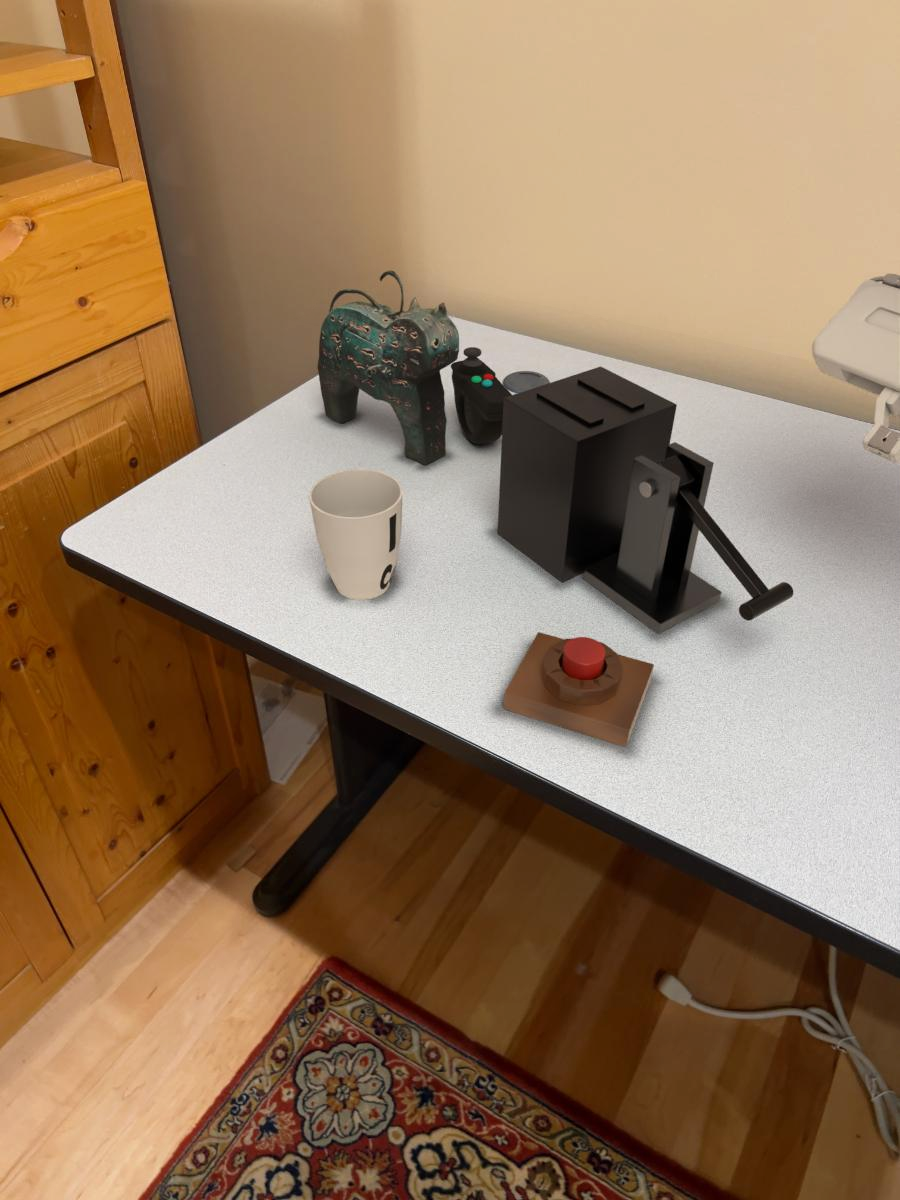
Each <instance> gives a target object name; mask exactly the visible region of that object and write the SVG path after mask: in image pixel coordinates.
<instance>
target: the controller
mask: <svg viewBox="0 0 900 1200" xmlns="http://www.w3.org/2000/svg"><path fill="white" fill-rule="evenodd" d="M463 355H464V356H465V357H466V358H465V359H463V360H458V361H454V362H453V363H451V364H450V368H451V370H452V372H451V381H452V387H453V397H454V405H455V411H456V415H457V418H458V420H457V421H458V423H459V426H460V428H461V431H462V433H463V435H464V436H465V438H466V439H467V440H468V441H470V442H471V443H473V444H476V445H484V444H488V443H493V442H496V441H498V440H499V439H500V438H502V426H503V405H504V398H505V397H508V396H511V395H513V394H512V393H511V392H510V390H509V389H507V387H506V386H504V384H503V383H502V382H501V380H499V379H498V378H497V376H496V374H497V373H496V372H495V371H494V370H493V369H491V367H490V366H489V365H488V364H486V363H485V362H484V361H482V360H481V359H480V358H478V357H480V356H482V349H480V348H479V347H475V346H470V347H466V348H464V349H463Z"/></svg>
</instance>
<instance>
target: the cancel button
mask: <svg viewBox="0 0 900 1200" xmlns="http://www.w3.org/2000/svg"><path fill="white" fill-rule="evenodd" d="M570 639H571V640H569V641H568V642H567V643H566V644H565V646H564V653H563V661H562V667H563V670H564V671H565V673H566V674H567V675H569V676H570V677H572V678H575V679H579V680H592V679H595V678H597V677H598V676H599V675H600V674H601V673H602V671H603V665H604V659H605V649H604V647H603V646H602V644H601V643H599V642H600V641H599V640H597V639H594V638H591V637H588V636H587V637H586V636H578V637H573V639H572V638H570Z"/></svg>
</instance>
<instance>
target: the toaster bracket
mask: <svg viewBox="0 0 900 1200" xmlns="http://www.w3.org/2000/svg"><path fill="white" fill-rule="evenodd" d="M674 455H676V456H677V457H678V458H679V459H680V461H681V462H682V463H683V464H684V466H685V467H686V468H687V469H688V471H689V472H690V473H691V474H692V476H693V477H694V478H695V480H694V482H693V483H692V484H691V485H690V487H689V490H690V491H691V492H692V493H693V495H694V496H695V497H696V498H697V500H698V501H699V502H700V503H701V505H702V506H703V507H704V508H705V505H706V500H707V497H708V492H709V486H710V481H711V477H712V473H713V469H714V464H715V463H714V462H713V461H711V460H710V459H707V458H705V457H704V456H702V455H700V454H698V453H696V452H694V451H693V450H691V449H689V448H687V447H685V446H683V445H681V444H680V443H678V442H676V441H674V442H672V443H670V444H669V445H667V450H666V455H665V459H667V458H669V457H672V456H674ZM679 483H680V476H678V475H676V474H674V473H673V472H671V471H669V470H667V469H665V468H664V467H662V466H660V465H658V464H657V463H655V462H653V461H651V460H650V459H648V458H646V457H644V456H643V455H641V456H639V457H636V458H634V460H633V467H632V473H631V480H630V486H629V493H628V499H627V506H626V512H625V519H624V525H623V532H622V538H621V545H620V551H619V552H618V553H616V554H614V555H611V556H609V557H607V558H605V559H603V560H601V561H598V562H596V563H594V564H592V565H590V566H588V567H585V568H584V569H583V573H582V574H581V579H582V580H584V582H586V583H588V584H589V585H591V586H592V587H593V588H595V589H596V590H597V591H599V592H600V593H601V594H603V595H604V596H605V597H606V598H608V599H610V600H611V601H612V602H614V603H615V604H616V605H618V606H619V607H620V608H622V609H623V610H624V611H626V612H627V613H629V614H630V615H631V616H633V617H634V618H635V619H637V620H638V621H639V622H641V623H642V624H644V625H645V626H646V627H648V628H649V629H650V630H651V631H653V632H654V633H656V634H657V635H660V634H662V633H664V632H665V631H667V630H670V629H671V628H673V627H675V626H677V625H679V624H681V623H682V622H684V621H686V620H688V619H689V618H692V617H693V616H696V615H697V614H699V613H701V612H703V611H705V610H706V609H708V608H710V607H712V606H714V605H716V604H718V603H719V602H720V601H721V597H722V591H721V590H720V589H718V588H717V587H715V586H713V585H712V584H711V583H709V582H707V581H706V580H704V579H703V578H701V577H700V576H698V575H696V574H695V573H694V572H692V571H691V569H692V564H693V559H694V554H695V549H696V547H697V541H698V536H699V533H700V530H699V529H698V528H697V526H696V525H695V524H694V523H693V521H692V520H691V519H690V518H689V516H688V515H687V514H686V512H685V511H684V510H683V509H682V507H681V506H680V505H679V503H678V502H677V501H676V498H677V493H678V488H679Z"/></svg>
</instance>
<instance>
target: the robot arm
mask: <svg viewBox="0 0 900 1200" xmlns="http://www.w3.org/2000/svg"><path fill="white" fill-rule="evenodd" d="M811 352H812V358H813V360H814V363H815V364H816V367H817V368H818V369H819V371H820V372H821V373H822V374H824V375H827V376H829V377H830V378H831V377H832V378H833V379H836V380H839V381H841V382H843V383H845V384H849V385H851V386H854V387H856V388H858V389H861V390H863V391H865V392H868V393H870V394H873V395H875V396H877V397H876V399H875V408H874V416H873V417H874V419H873V425H872V426H871V428H870V429H869V431H868V432H867V433H866V435H865V436H864V437H863V439H862V442H861V444H862V446H863V448H864V450H865V451H868V452H870V453H871V454H875V455H876V456H879V457H881V458H883V459H885V460H888V461H890V462H892V463H894V464H897V465H900V433H899V432H898V431H895V430H892V429H890V428H889V424H890V419H891V416H893V417H898V416H899V415H900V275H899V274H897V273H886V274H885V275H883V276H882V275H881V276H875V277H872V278H868V279H865V280H864V281H863V282H862V283H860V284H859V286H858V287H857V288H856V290H855V291H854V292H853V294H852V295H851V296H850V298H849V300H848V301H847V302H846V303H845V304H844V305H843V306H842V307H841V308H840V309H839V310H838V311H837V312H836V313H835V314H834V316H833V317H831V319H830V320H829V321H828V322H827V323H826V324H825V326H824V327H823V328H822V329H821V330H820V331H819V333H818V334H817V335H816V336H815V338H814V339H813V341H812V344H811Z"/></svg>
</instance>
